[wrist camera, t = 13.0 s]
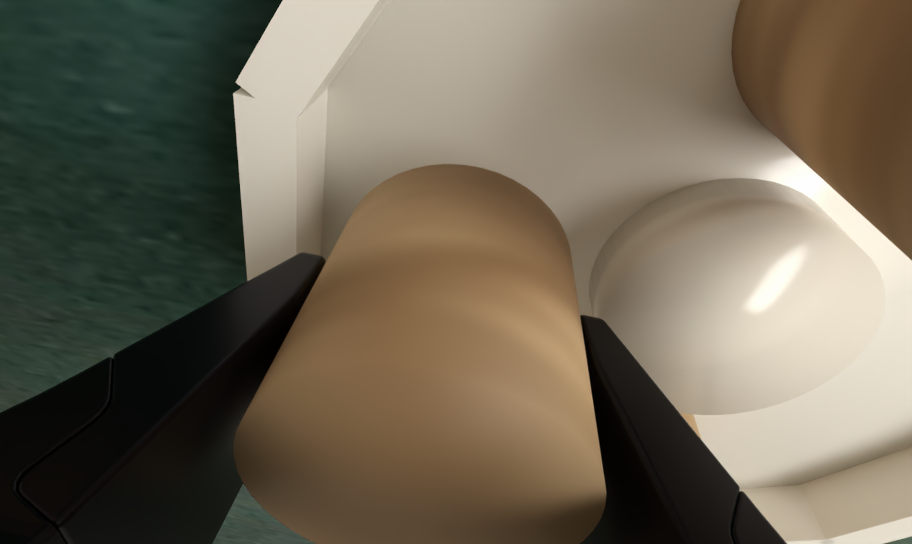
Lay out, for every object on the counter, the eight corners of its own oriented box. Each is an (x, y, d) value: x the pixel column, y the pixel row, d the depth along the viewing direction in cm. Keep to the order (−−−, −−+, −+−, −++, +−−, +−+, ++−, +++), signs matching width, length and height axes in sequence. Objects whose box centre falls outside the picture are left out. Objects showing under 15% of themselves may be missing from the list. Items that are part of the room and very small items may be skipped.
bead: (609, 197, 8) (677, 424, 5) (532, 369, 11) (538, 597, 7) (349, 136, 8) (215, 324, 4) (336, 327, 11) (245, 540, 7)
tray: (817, 523, 18) (856, 605, 16) (294, 414, 17) (262, 485, 15) (1781, -174, 6) (2408, -211, 4) (293, -612, 5) (154, -924, 3)
